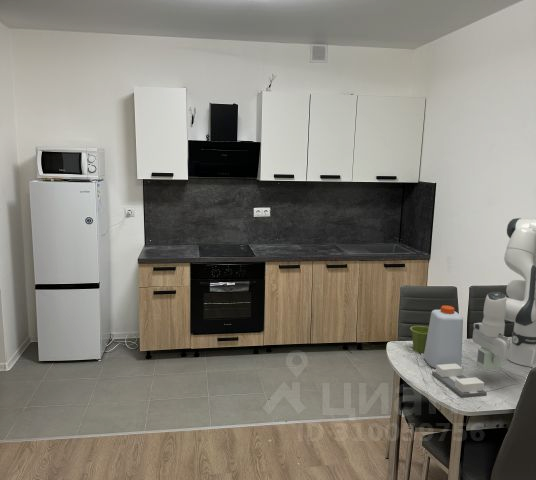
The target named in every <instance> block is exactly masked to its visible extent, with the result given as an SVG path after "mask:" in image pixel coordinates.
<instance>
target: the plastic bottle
mask: <svg viewBox="0 0 536 480" xmlns="http://www.w3.org/2000/svg"><path fill="white" fill-rule="evenodd" d="M455 310H456V309H455V307H453V306H452V305H442V306H440V309H433V310H432V311H431V313H430V318H429V325H428V327H429V329H428V334H427V340H426V346H425V351H424V353H423V359H424V361H426V363H427V364H428V365H429V366H430V367H431V368H433V369H436V365H442V364H457V365H459V366H460V367H462V359H463V337H464V336H463V331H464V318H463V316H462V315H461V314H460V313H458V312H457V311H455Z"/></svg>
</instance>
